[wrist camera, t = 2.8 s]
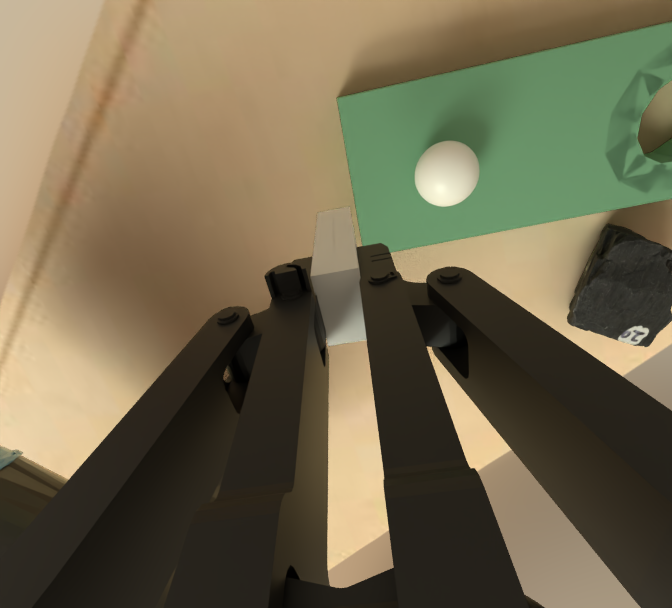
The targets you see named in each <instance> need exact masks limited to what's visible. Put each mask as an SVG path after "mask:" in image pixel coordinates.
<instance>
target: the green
mask: <svg viewBox="0 0 672 608" xmlns="http://www.w3.org/2000/svg"><path fill="white" fill-rule="evenodd" d="M671 80H672V21H670V22H665V23H661V24H657V25H652V26H648V27H644V28H639V29H635V30H630V31H626V32H622V33H617V34H613V35H609V36H604V37H600V38H595V39H591V40H587V41H582V42H578V43H574V44H569V45H565V46H560V47H556V48H552V49H547V50H543V51H539V52H534V53H530V54H525V55H521V56H517V57H512V58H508V59H504V60H499V61H495V62H490V63H486V64H482V65H477V66H473V67H468V68H464V69H460V70H455V71H451V72H447V73H442V74H438V75H433V76H429V77H425V78H420V79H416V80H412V81H407V82H403V83H398V84H394V85H390V86H385V87H381V88H377V89H372V90H368V91H363V92H359V93H355V94H350V95H346V96H342V97H337V103H338V108H339V114H340V120H341V126H342V132H343V137H344V143H345V149H346V155H347V160H348V166H349V172H350V178H351V183H352V189H353V195H354V201H355V207H356V212H357V218H358V224H359V230H360V235H361V241H362V246H366V245H372V244H377V243H382V244H384V245H386V246H388V248H389V251H390V252H396V251H401V250H406V249H411V248H417V247H422V246H427V245H432V244H437V243H443V242H448V241H453V240H458V239H464V238H469V237H474V236H479V235H485V234H490V233H495V232H500V231H506V230H511V229H516V228H521V227H527V226H532V225H537V224H542V223H548V222H553V221H558V220H563V219H569V218H574V217H579V216H584V215H589V214H595V213H600V212H605V211H610V210H616V209H621V208H626V207H631V206H637V205H642V204H647V203H652V202H658V201H663V200H668V199H672V139H670V140H669V141H667V142H666V143H664V144H663V145H661V146H660V147H659V148H657V149H656V150H654V151H653V152H651V153H646V154H643V151H642V149H641V147H640V144H639V142H638V139H637V138H638V132H639V127H640V122H641V117H642V114H643V112H644V111H645V109H646V108H647V106H648V105H649V103H650V102H651V100H652V99H653V97H654V96H655V94H656V93H657V91H658V90H659V89H660V88H662V87H663V86H664V85H666V84H667V83H668V82H670V81H671ZM443 141H458V142H461V143H463V144H465V145H466V146H468V147H469V148H470V149H471V150H472V151H473V152H474V153H475V155H476V157H477V159H478V162H479V170H480V171H479V179H478V182H477V185H476V187H475V188H474V190H473V192H472V193H471V194H470V195H469V196H468V197H467V198H466V199H465V200H463V201H462V202H460V203H458V204H455V205H452V206H447V207H441V206H436V205H433V204H430V203H429V202H427V201H426V200H425V199H423V198H422V196H421V195H420V194H419V192H418V190H417V188H416V185H415V169H416V165H417V163H418V161H419V159H420V157H421V156H422V154H423V153H424V152H425V151H426V150H427V149H428V148H430V147H431V146H433V145H434V144H437V143H439V142H443Z"/></svg>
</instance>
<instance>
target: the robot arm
mask: <svg viewBox="0 0 672 608" xmlns="http://www.w3.org/2000/svg"><path fill="white" fill-rule="evenodd" d="M265 279H266V282H267V285H268V288H269V291H270V294H271V297H272V300H271V304H270V307H269V309H267V310H265V311H263V312H260V313H257V314H254V315H252V316H250V314H249V311H248V309H247V308H245V307H239V306H237V307H228V308H227V309H226V308H225V309H223V310H221V311H220V312H218V313H216V314H215V315H213V316H212V317H211V318H210V319H209V320H208V321H207V322H206V324H205V325H204V326H203V327H202V328H201V329H200V330H199V332H198V333H197V334H196V335H195V336H194V337H193V338H192V340H191V341H190V342H189V343H188V344H187V345H186V346H185V348H184V349H183V350H182V351H181V352H180V353H179V354H178V356H177V357H176V358H175V359H174V360H173V361H172V362H171V364H170V365H169V366H168V367H167V368H166V369H165V370H164V372H163V373H162V374H161V375H160V376H159V377H158V378H157V380H156V381H155V382H154V383H153V384H152V385H151V386H150V388H149V389H148V390H147V391H146V392H145V393H144V394H143V396H142V397H141V398H140V399H139V400H138V401H137V402H136V404H135V405H134V406H133V407H132V408H131V409H130V410H129V412H128V413H127V414H126V415H125V416H124V417H123V418H122V420H121V421H120V422H119V423H118V424H117V425H116V426H115V428H114V429H113V430H112V431H111V432H110V433H109V434H108V436H107V437H106V438H105V439H104V440H103V441H102V442H101V444H100V445H99V446H98V447H97V448H96V449H95V450H94V452H93V453H92V454H91V455H90V456H89V457H88V458H87V460H86V461H85V462H84V463H83V464H82V465H81V466H80V468H79V469H78V470H77V471H76V472H75V473H74V474H73V476H72V477H71V478H70V479H69V480H68V479H66V478H64V477H62V476H60V475H58V474H56V473H54V472H52V471H50V470H48V469H46V468H44V467H43V466H41V465H39V464H37V463H35V462H33V461H31V460H29V459H27V458H25V457H23V456H21V455H22V454H23V452H21V451H19V450H9V449H7V448H5V447H3V446H0V608H544V607H543V606H542V605H540V604H539V603H538V602H536V601H534V600H532V599H531V598H529V597H528V596H526V595H524V593H523V590H522V587H521V584H520V582H519V579H518V576H517V574H516V571H515V568H514V566H513V563H512V560H511V558H510V555H509V553H508V550H507V547H506V544H505V542H504V539H503V536H502V534H501V531H500V528H499V526H498V523H497V520H496V517H495V515H494V512H493V510H492V507H491V504H490V501H489V499H488V496H487V493H486V491H485V488H484V486H483V483H482V481H481V479H480V476H479V474H478V473H477V471H476V470H475V468H472V469H470V467H469V465H468V463H467V461H466V458H465V455H464V452H463V450H462V447H461V444H460V441H459V438H458V435H457V433H456V430H455V427H454V424H453V421H452V418H451V416H450V413H449V410H448V407H447V404H446V401H445V399H444V396H443V393H442V390H441V387H440V384H439V382H438V379H437V376H436V373H435V370H434V367H433V365H432V362H431V359H430V356H429V353H428V350H427V348H426V346H429V347H432V350H433V352H434V355H435V356H436V357H437V358H438V359H439V361H440V362H441V363H442V364H443V366H444V367H445V368H446V369H447V370H448V372H449V373H450V374H451V375H452V377H453V378H454V379H455V380H456V382H457V383H458V384H459V385H460V386H461V388H462V389H463V390H464V391H465V393H466V394H467V395H468V396H469V397H470V399H471V400H472V401H473V402H474V404H475V405H476V406H477V407H478V409H479V410H480V411H481V412H482V413H483V415H484V416H485V417H486V418H487V420H488V421H489V422H490V423H491V425H492V426H493V427H494V428H495V429H496V431H497V432H498V433H499V434H500V436H501V437H502V438H503V439H504V440H505V442H506V443H507V444H508V445H509V447H510V448H511V449H512V450H513V451H514V453H515V454H516V455H517V456H518V457H519V459H520V460H521V461H522V463H523V464H524V465H525V466H526V467H527V469H528V470H529V471H530V472H531V473H532V475H533V476H534V477H535V479H536V480H537V481H538V482H539V483H540V485H541V486H542V487H543V488H544V490H545V491H546V492H547V493H548V494H549V496H550V497H551V498H552V499H553V500H554V502H555V503H556V504H557V505H558V507H559V508H560V509H561V510H562V511H563V513H564V514H565V515H566V517H567V518H568V519H569V520H570V522H571V523H572V524H573V525H574V526H575V528H576V529H577V530H578V531H579V533H580V534H581V535H582V536H583V537H584V539H585V540H586V541H587V542H588V544H589V545H590V546H591V547H592V549H593V550H594V551H595V552H596V553H597V555H598V556H599V557H600V558H601V560H602V561H603V562H604V563H605V564H606V566H607V567H608V568H609V569H610V571H611V572H612V573H613V574H614V575H615V577H616V578H617V579H618V580H619V582H620V583H621V584H622V585H623V587H624V588H625V589H626V590H627V592H628V593H629V594H630V595H631V596H632V598H633V599H634V600H635V601H636V602H637V603H638V605H639V606H640V607H641V608H672V411H671V410H670V409H668V408H667V407H665V406H664V405H663V404H661V403H660V402H658V401H657V400H655V399H654V398H652V397H651V396H650V395H648V394H647V393H645V392H644V391H642V390H641V389H639V388H638V387H637V386H635V385H634V384H632V383H631V382H629V381H628V380H627V379H625V378H624V377H622V376H621V375H619V374H618V373H616V372H615V371H614V370H612V369H611V368H609V367H608V366H606V365H605V364H603V363H602V362H601V361H599V360H598V359H596V358H595V357H593V356H592V355H590V354H589V353H588V352H586V351H585V350H583V349H582V348H580V347H579V346H577V345H576V344H575V343H573V342H572V341H570V340H569V339H567V338H566V337H564V336H563V335H562V334H560V333H559V332H557V331H556V330H554V329H553V328H551V327H550V326H549V325H547V324H546V323H544V322H543V321H541V320H540V319H538V318H537V317H536V316H534V315H533V314H531V313H530V312H528V311H527V310H526V309H524V308H523V307H521V306H520V305H518V304H517V303H515V302H514V301H513V300H511V299H510V298H508V297H507V296H505V295H504V294H502V293H501V292H500V291H498V290H497V289H495V288H494V287H492V286H491V285H489V284H488V283H487V282H485V281H484V280H482V279H481V278H479V277H478V276H476V275H475V274H474V273H472V272H471V271H469V270H466V269H464V268H459V267H444V268H441V269H437V270H435V271H433V272H431V273H430V274H429V275H428V276H427V279H426V282H427V283H413V282H407V281H405V280H403V279H402V277H401V275H400V273H399V272H397V271H396V269H395V266H394V263H393V260H392V257H391V254H390V251H389V248H388V246H386V245H384V244H382V243H377V244H372V245H366V246H361V247H357V244H356V239H355V233H354V227H353V222H352V216H351V211H350V206H348V207H343V208H338V209H333V210H328V211H323V212H318V213H317V222H316V231H315V239H314V248H313V257H308V258H303V259H297V260H294V261H293V262H292V263H287V264H283V265H279V266H277V267H275V268H273V269H271V270H270V271H268V272H267V273H266V275H265ZM326 338H327V342H328V346H333V345H339V344H345V343H351V342H357V341H364V340H367V346H368V354H369V362H370V369H371V377H372V385H373V393H374V400H375V408H376V416H377V423H378V431H379V439H380V446H381V454H382V462H383V470H384V492H385V501H386V509H387V517H388V525H389V533H390V540H391V549H392V557H393V565H394V568H392V569H390V570H387V571H385V572H383V573H380V574H378V575H376V576H373V577H371V578H368V579H367V580H364V581H361V582H359V583H357V584H355V585H352V586H350V587H347V588H335V587H330V585H329V579H328V570H327V514H328V388H329V354H328V350H327V347H326ZM225 369H227V371H228V373H229V376H228V378H227V379H226V380H225V381H224V380H223V375H224V372H225Z"/></svg>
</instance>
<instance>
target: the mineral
mask: <svg viewBox="0 0 672 608" xmlns="http://www.w3.org/2000/svg"><path fill="white" fill-rule="evenodd" d="M671 306H672V250H671V249H669V248H667V247H665V246H663V245H661V244H659V243H656V242H652V241H650V240H647V239H646V238H644V237H643V236H641V235H639V234H637V233H635V232H633V231H632V230H630V229H627V228H624V227H621V226H615V225H611V224H607V225H606V226H605V227H604V229H603V230H602V233H601V236H600V239H599V241H598V244H597V246H596V248H595V249H594V250H593V253H592V255H591V256H590V258H589V260H588V262H587V265H586V267H585V270H584V272H583V274H582V276H581V278H580V280H579V283H578V285H577V287H576V290H575V296H574V297H573V299H572V301H571V303H570V306H569V309H570V312H569V314H568V316H567V321H568V323H569V324H570V325H572V326H575V327H577V328H580V329H583V330H586V331H588V330H590V331H591V332H594V333H597V334H601V335H604V336H607V337H609V338H612V339H615V340H618V341H621V342H624V343H628V344H631V345H634V346H644V347H648V346H649V345H650V344H651V343H652V342H653V340H654V338H655V337H656V335H657V334H658V333H659V332H660V331H661V330H662V329H663V328H665V327H666V326H667V325H668V324H669V323H670V322H671V321H672V313H671Z"/></svg>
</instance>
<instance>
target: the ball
mask: <svg viewBox="0 0 672 608" xmlns="http://www.w3.org/2000/svg"><path fill="white" fill-rule="evenodd" d="M479 171H480V170H479V162H478V159H477V157H476V155H475V153H474V152H473V151H472V150H471V149H470V148H469V147H468V146H466V145H465V144H463V143H461V142H458V141H443V142H439V143H437V144H434V145H433V146H431V147H430V148H428V149H427V150H426V151H425V152H424V153H423V154H422V156H421V157H420V159H419V161H418V163H417V165H416V169H415V185H416V188H417V190H418V192H419V194H420V195H421V196H422V198H423V199H425V200H426V201H427V202H429V203H430V204H433V205H436V206H441V207H447V206H452V205H455V204H458V203H460V202H462V201H463V200H465V199H466V198H467V197H468V196H469V195H470V194H471V193H472V192H473V190H474V188H475V187H476V185H477V182H478V179H479Z"/></svg>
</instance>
